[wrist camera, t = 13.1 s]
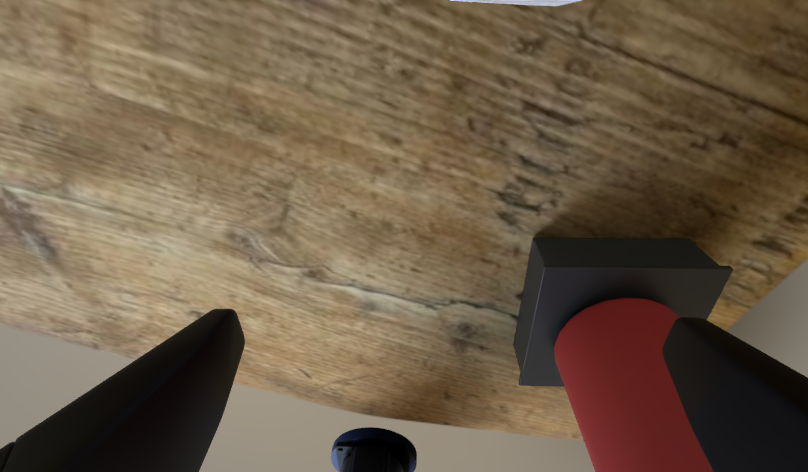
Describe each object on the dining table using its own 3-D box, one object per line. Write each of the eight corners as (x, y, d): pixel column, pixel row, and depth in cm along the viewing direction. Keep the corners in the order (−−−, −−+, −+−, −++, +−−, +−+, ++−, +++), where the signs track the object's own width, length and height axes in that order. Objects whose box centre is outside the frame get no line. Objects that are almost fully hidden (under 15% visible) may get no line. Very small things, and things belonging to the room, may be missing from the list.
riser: (644, 349, 26) (670, 389, 23) (509, 346, 26) (519, 385, 24) (694, 235, 21) (733, 269, 18) (529, 234, 22) (544, 267, 19)
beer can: (587, 390, 24) (712, 689, 13) (527, 331, 21) (622, 637, 11) (697, 342, 21) (956, 665, 11) (642, 268, 19) (907, 590, 8)
